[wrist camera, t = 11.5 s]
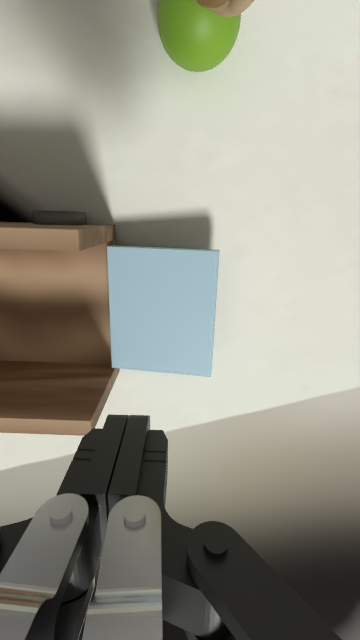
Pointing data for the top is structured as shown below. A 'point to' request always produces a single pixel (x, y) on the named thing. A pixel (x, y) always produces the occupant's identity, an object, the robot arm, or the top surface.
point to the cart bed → (54, 324)
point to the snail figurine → (199, 30)
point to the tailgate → (162, 308)
